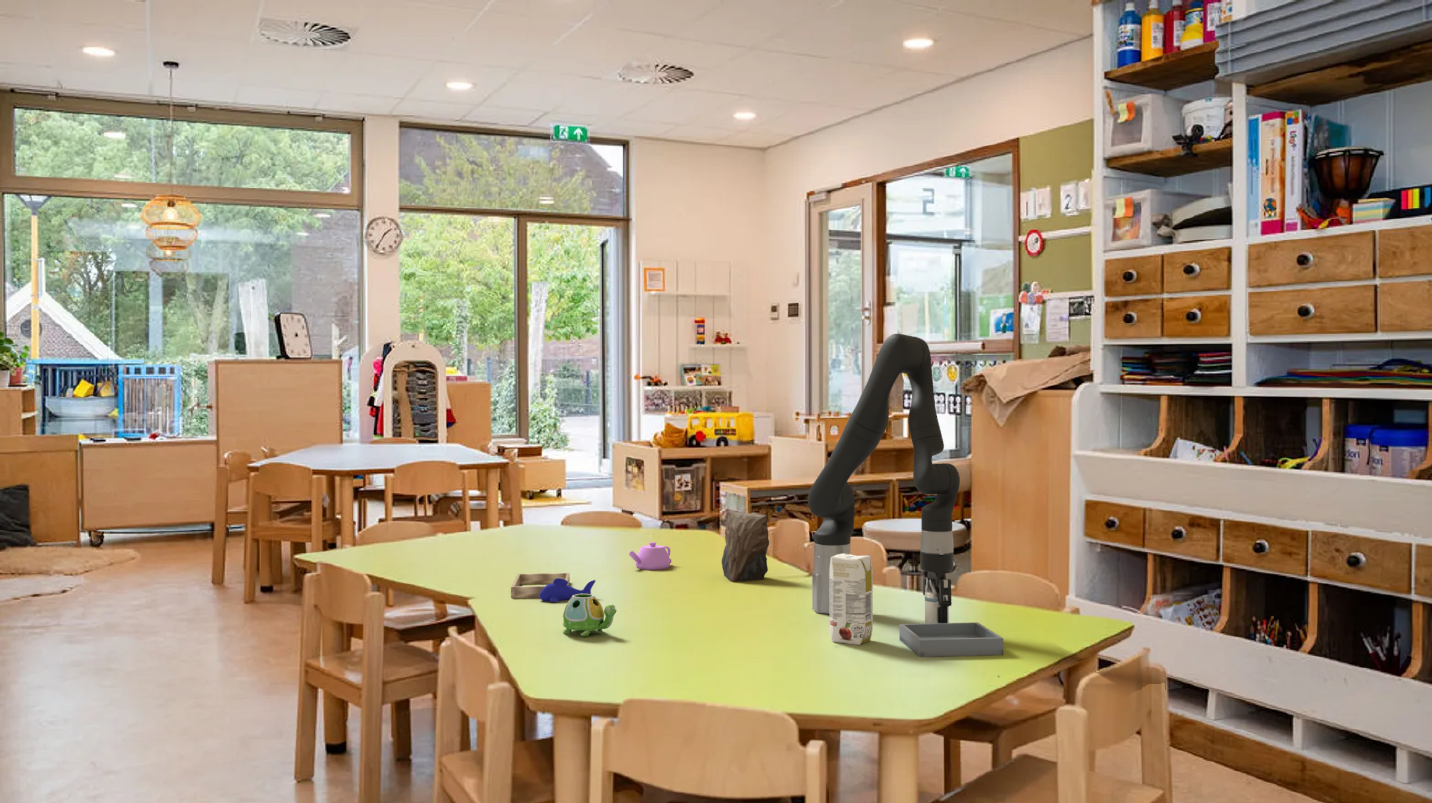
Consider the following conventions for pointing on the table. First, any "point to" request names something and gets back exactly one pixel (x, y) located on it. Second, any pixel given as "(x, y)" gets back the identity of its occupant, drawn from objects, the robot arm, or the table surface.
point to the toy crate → (534, 579)
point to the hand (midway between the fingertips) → (936, 619)
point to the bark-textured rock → (745, 547)
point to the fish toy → (562, 590)
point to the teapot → (652, 557)
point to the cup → (931, 608)
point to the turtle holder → (586, 614)
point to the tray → (951, 639)
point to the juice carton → (851, 599)
